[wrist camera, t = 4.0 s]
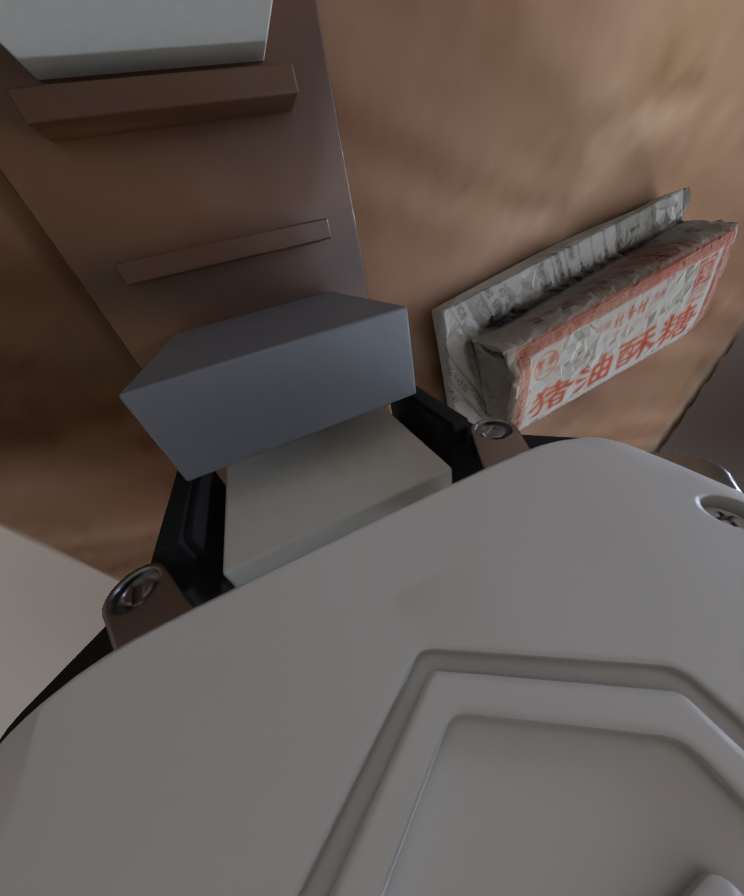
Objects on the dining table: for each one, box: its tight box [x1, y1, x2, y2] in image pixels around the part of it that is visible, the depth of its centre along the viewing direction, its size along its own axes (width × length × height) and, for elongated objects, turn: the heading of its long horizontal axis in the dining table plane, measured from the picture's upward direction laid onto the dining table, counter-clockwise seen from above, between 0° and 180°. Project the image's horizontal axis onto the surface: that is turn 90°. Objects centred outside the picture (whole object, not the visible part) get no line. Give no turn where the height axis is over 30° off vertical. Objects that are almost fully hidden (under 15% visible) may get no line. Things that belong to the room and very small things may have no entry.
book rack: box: [0, 0, 390, 485], centre depth 11 cm, size 24×10×2 cm, turn 12°
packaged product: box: [431, 187, 738, 430], centre depth 18 cm, size 18×5×10 cm
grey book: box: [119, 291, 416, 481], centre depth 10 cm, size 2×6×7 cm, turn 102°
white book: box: [223, 407, 452, 587], centre depth 11 cm, size 2×6×9 cm, turn 102°
